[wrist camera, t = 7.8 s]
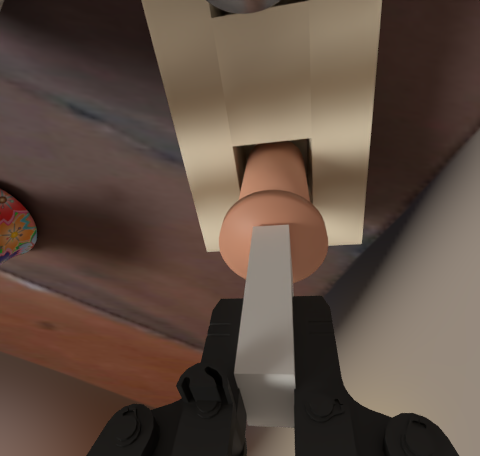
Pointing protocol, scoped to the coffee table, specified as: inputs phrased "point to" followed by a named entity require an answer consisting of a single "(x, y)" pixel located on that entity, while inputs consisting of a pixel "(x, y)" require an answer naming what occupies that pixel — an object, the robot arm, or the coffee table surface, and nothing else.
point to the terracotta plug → (275, 210)
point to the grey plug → (243, 5)
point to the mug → (15, 228)
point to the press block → (271, 98)
